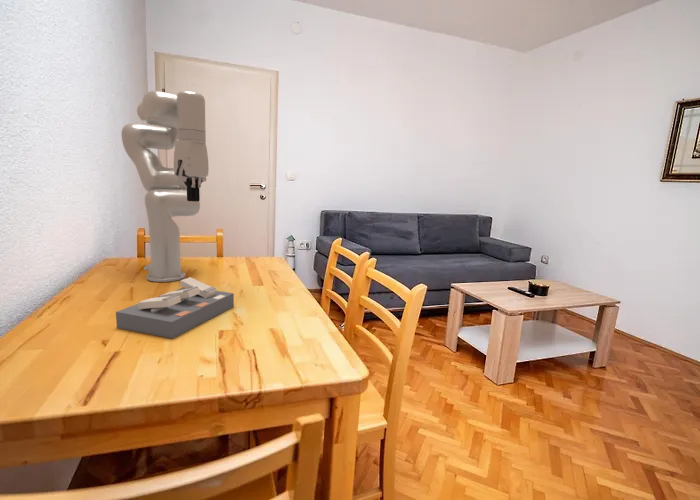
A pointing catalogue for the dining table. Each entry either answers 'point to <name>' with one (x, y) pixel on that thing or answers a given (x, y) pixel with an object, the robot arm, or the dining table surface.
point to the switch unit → (174, 315)
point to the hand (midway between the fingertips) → (193, 201)
